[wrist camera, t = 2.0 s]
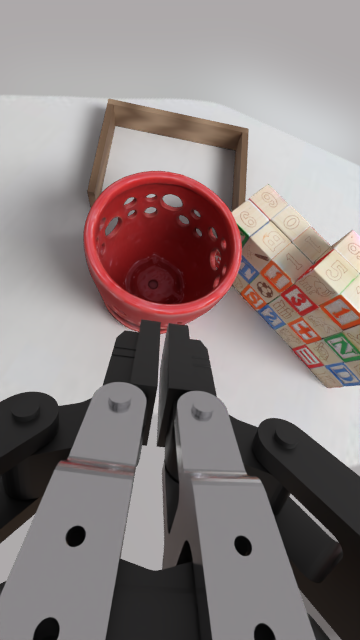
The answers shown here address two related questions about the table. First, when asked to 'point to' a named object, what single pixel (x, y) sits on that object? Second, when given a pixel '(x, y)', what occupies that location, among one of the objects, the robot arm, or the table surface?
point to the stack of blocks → (302, 285)
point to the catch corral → (170, 127)
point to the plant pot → (161, 249)
